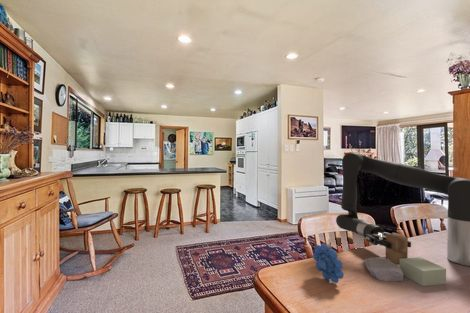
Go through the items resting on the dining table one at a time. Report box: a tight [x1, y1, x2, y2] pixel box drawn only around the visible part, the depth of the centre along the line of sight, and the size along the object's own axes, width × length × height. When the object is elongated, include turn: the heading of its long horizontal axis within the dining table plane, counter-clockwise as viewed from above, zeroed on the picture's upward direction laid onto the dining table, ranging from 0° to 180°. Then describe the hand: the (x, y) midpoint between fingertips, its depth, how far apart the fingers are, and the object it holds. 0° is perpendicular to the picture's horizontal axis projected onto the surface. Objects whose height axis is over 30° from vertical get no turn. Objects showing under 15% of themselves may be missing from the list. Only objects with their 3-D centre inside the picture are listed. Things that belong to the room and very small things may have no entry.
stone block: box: [364, 256, 404, 282], centre depth 86 cm, size 12×5×10 cm
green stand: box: [400, 256, 447, 287], centre depth 82 cm, size 9×9×5 cm
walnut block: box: [385, 233, 409, 265], centre depth 92 cm, size 5×5×10 cm
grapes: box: [312, 243, 344, 284], centre depth 80 cm, size 12×7×12 cm, turn 33°
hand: (400, 245), depth 91 cm, fingers open, 8 cm apart
